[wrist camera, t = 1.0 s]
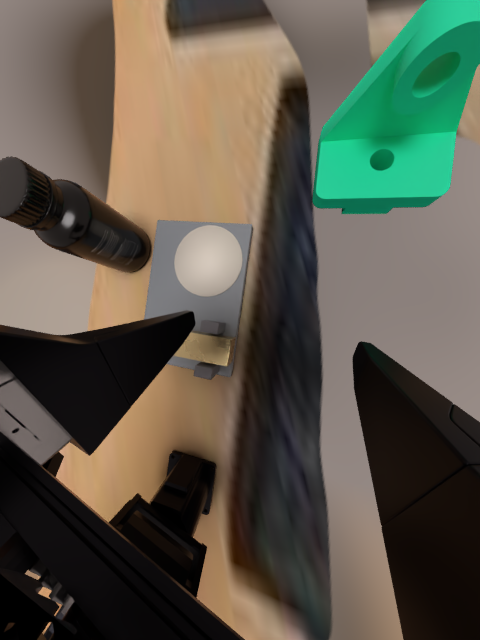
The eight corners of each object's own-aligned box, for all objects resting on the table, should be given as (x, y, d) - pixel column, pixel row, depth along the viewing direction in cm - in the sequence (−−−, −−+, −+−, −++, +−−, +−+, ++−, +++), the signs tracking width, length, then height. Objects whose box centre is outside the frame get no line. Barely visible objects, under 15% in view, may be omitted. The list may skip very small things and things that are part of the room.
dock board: (231, 374, 22) (223, 386, 18) (144, 356, 24) (119, 363, 20) (252, 228, 22) (248, 208, 18) (162, 224, 24) (141, 205, 20)
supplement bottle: (144, 219, 25) (27, 124, 13) (157, 263, 24) (49, 206, 12) (106, 238, 26) (-34, 167, 14) (118, 280, 25) (-16, 244, 13)
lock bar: (232, 361, 21) (227, 366, 19) (180, 351, 22) (169, 355, 20) (235, 337, 21) (231, 339, 19) (183, 328, 22) (173, 329, 20)
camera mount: (309, 214, 21) (346, 111, 11) (316, 151, 21) (359, -12, 11) (424, 213, 19) (608, 84, 8) (432, 143, 19) (626, -71, 8)
